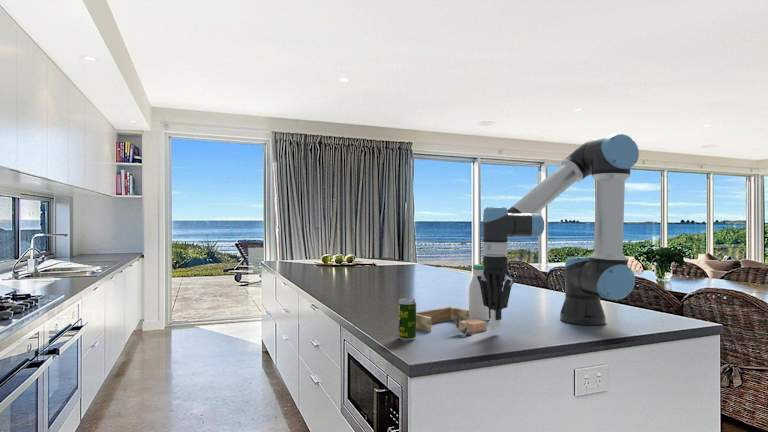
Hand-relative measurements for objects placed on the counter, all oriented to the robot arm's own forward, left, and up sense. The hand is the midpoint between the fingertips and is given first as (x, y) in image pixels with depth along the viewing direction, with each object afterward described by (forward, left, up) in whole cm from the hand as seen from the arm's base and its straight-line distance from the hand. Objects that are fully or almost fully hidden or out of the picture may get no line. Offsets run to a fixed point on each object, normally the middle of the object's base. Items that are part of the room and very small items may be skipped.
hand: (495, 329), depth 147 cm
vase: (+7, +8, -2) cm, 11 cm away
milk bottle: (+18, -14, -2) cm, 23 cm away
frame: (+20, +4, -2) cm, 21 cm away
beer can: (+14, +25, -2) cm, 29 cm away
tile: (+9, 0, -2) cm, 9 cm away
